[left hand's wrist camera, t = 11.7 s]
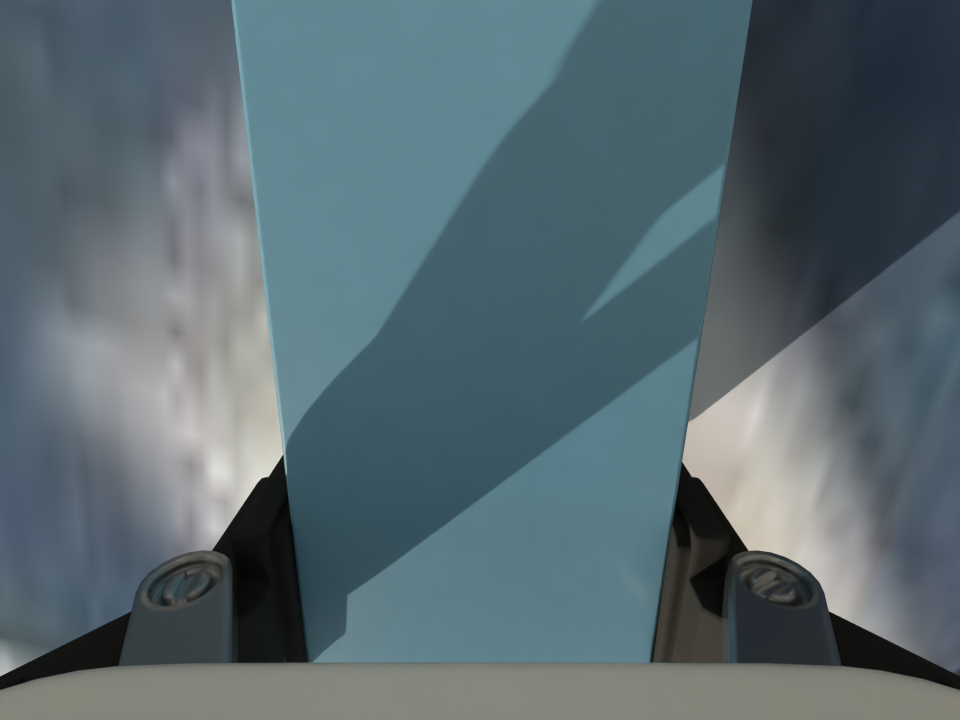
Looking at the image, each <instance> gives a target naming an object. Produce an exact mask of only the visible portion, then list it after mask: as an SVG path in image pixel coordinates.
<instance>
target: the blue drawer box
mask: <svg viewBox="0 0 960 720" xmlns="http://www.w3.org/2000/svg"><path fill="white" fill-rule="evenodd" d="M231 1H232V9H233V18H234V27H235V36H236V44H237V53H238V62H239V71H240V79H241V88H242V97H243V106H244V114H245V123H246V132H247V140H248V149H249V158H250V167H251V175H252V184H253V193H254V202H255V210H256V219H257V228H258V237H259V245H260V254H261V263H262V272H263V280H264V289H265V298H266V306H267V315H268V324H269V333H270V341H271V350H272V359H273V368H274V376H275V385H276V394H277V403H278V411H279V420H280V429H281V438H282V446H283V455H284V464H285V472H286V481H287V490H288V499H289V507H290V516H291V525H292V534H293V542H294V551H295V560H296V569H297V577H298V586H299V595H300V603H301V612H302V621H303V629H304V638H305V647H306V655H307V662H308V663H342V662H618V663H651V660H652V654H653V647H654V640H655V634H656V627H657V621H658V614H659V608H660V601H661V595H662V588H663V582H664V575H665V568H666V561H667V553H668V546H669V539H670V532H671V524H672V523H673V517H674V510H675V504H676V497H677V490H678V484H679V477H680V471H681V464H682V458H683V451H684V445H685V438H686V432H687V425H688V419H689V412H690V406H691V399H692V393H693V386H694V380H695V373H696V367H697V360H698V354H699V347H700V340H701V334H702V327H703V321H704V314H705V308H706V301H707V295H708V288H709V282H710V275H711V269H712V262H713V256H714V249H715V243H716V236H717V230H718V223H719V217H720V210H721V204H722V197H723V190H724V184H725V177H726V171H727V164H728V158H729V151H730V145H731V138H732V132H733V125H734V119H735V112H736V106H737V99H738V93H739V86H740V80H741V73H742V67H743V60H744V54H745V47H746V40H747V34H748V27H749V21H750V14H751V8H752V1H753V0H231Z"/></svg>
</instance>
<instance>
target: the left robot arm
mask: <svg viewBox="0 0 960 720" xmlns="http://www.w3.org/2000/svg"><path fill="white" fill-rule="evenodd" d="M0 720H960V676H958V675H956V674H954V673H952V672H950V671H948V670H946V669H944V668H942V667H940V666H938V665H936V664H934V663H932V662H930V661H928V660H926V659H924V658H922V657H920V656H918V655H916V654H914V653H912V652H910V651H908V650H906V649H904V648H902V647H900V646H898V645H895V644H893V643H891V642H889V641H887V640H885V639H883V638H881V637H879V636H877V635H875V634H873V633H871V632H869V631H867V630H865V629H863V628H861V627H859V626H857V625H855V624H853V623H851V622H849V621H847V620H845V619H843V618H841V617H839V616H837V615H835V614H833V613H831V612H829V611H828V607H827V603H826V598H825V594H824V591H823V589H822V587H821V585H820V583H819V582H818V580H817V579H816V578H815V577H814V576H813V575H812V574H811V573H810V572H809V571H808V570H806V569H805V568H803V567H802V566H801V565H799V564H798V563H796V562H794V561H792V560H790V559H788V558H786V557H783V556H780V555H777V554H774V553H771V552H764V551H748V549H747V548H746V546H745V545H744V543H743V542H742V540H741V539H740V538H739V536H738V535H737V533H736V532H735V530H734V529H733V527H732V526H731V524H730V523H729V521H728V520H727V518H726V517H725V515H724V514H723V512H722V511H721V509H720V508H719V506H718V505H717V503H716V502H715V500H714V499H713V497H712V496H711V494H710V493H709V491H708V490H707V488H706V487H705V485H704V484H703V482H702V481H701V480H700V479H699V478H696V477H691V475H690V473H689V472H688V470H687V469H686V467H685V466H684V464H683V463H682V464H681V471H680V477H679V484H678V490H677V497H676V504H675V510H674V517H673V523H672V524H671V532H670V539H669V546H668V553H667V561H666V568H665V575H664V582H663V588H662V595H661V601H660V608H659V614H658V621H657V627H656V634H655V640H654V647H653V654H652V660H651V663H618V662H342V663H308V662H307V655H306V647H305V638H304V629H303V621H302V612H301V603H300V595H299V586H298V577H297V569H296V560H295V551H294V542H293V534H292V525H291V516H290V507H289V499H288V490H287V481H286V472H285V464H284V455H283V456H282V457H281V459H280V460H279V462H278V464H277V465H276V467H275V468H274V470H273V471H272V473H271V474H270V476H269V477H265V478H262V479H261V480H260V481H259V482H258V483H257V485H256V486H255V488H254V489H253V491H252V492H251V494H250V495H249V497H248V498H247V500H246V501H245V503H244V504H243V506H242V507H241V509H240V510H239V511H238V513H237V514H236V516H235V517H234V519H233V520H232V522H231V523H230V525H229V526H228V528H227V529H226V531H225V532H224V534H223V535H222V537H221V538H220V540H219V541H218V543H217V544H216V546H215V547H214V549H213V550H212V551H196V552H189V553H186V554H183V555H180V556H177V557H174V558H172V559H170V560H168V561H166V562H164V563H162V564H161V565H159V566H158V567H157V568H155V569H154V570H152V571H151V572H150V573H149V574H148V575H147V576H146V577H145V578H144V579H143V580H142V582H141V583H140V585H139V587H138V589H137V591H136V594H135V598H134V603H133V607H132V611H131V612H129V613H127V614H125V615H123V616H121V617H119V618H117V619H115V620H113V621H111V622H109V623H107V624H105V625H103V626H101V627H99V628H97V629H95V630H93V631H91V632H89V633H87V634H85V635H83V636H81V637H79V638H77V639H75V640H73V641H71V642H69V643H67V644H65V645H63V646H61V647H59V648H57V649H55V650H53V651H51V652H49V653H47V654H45V655H43V656H41V657H39V658H37V659H35V660H33V661H31V662H29V663H27V664H24V665H22V666H20V667H18V668H16V669H14V670H12V671H10V672H8V673H6V674H4V675H2V676H0Z"/></svg>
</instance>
